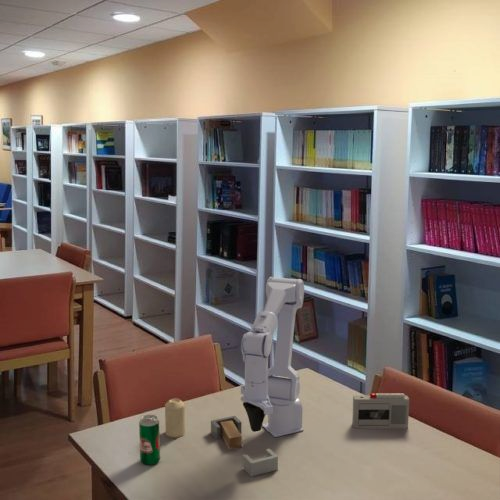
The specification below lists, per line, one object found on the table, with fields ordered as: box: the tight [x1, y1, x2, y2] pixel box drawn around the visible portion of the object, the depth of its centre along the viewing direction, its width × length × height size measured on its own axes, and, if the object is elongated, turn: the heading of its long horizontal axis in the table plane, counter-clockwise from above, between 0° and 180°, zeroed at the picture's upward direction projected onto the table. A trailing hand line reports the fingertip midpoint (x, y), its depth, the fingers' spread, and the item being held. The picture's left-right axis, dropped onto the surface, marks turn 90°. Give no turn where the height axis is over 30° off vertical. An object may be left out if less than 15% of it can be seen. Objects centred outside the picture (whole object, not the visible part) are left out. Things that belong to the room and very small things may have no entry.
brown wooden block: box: [220, 421, 243, 450], centre depth 167 cm, size 4×10×4 cm, turn 17°
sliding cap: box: [242, 448, 279, 477], centre depth 152 cm, size 8×4×4 cm, turn 116°
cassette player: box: [351, 392, 410, 429], centre depth 175 cm, size 16×3×10 cm, turn 90°
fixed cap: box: [210, 415, 243, 440], centre depth 171 cm, size 8×4×4 cm, turn 116°
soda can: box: [138, 414, 161, 467], centre depth 155 cm, size 5×5×12 cm
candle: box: [164, 397, 186, 438], centre depth 171 cm, size 6×6×10 cm
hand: (255, 430), depth 153 cm, fingers closed
